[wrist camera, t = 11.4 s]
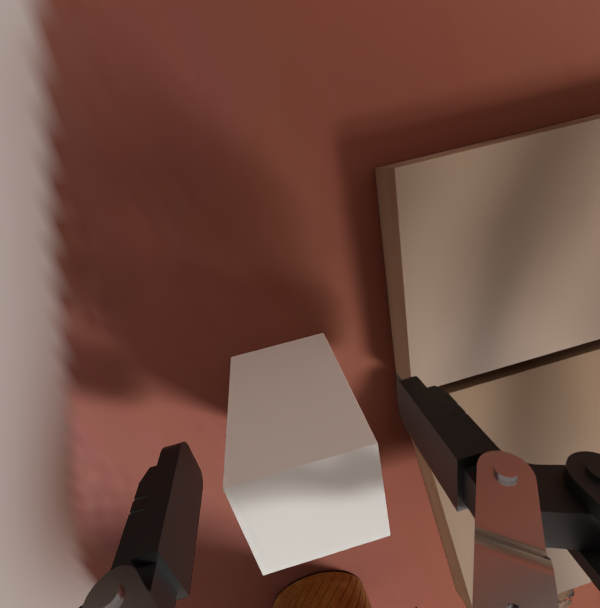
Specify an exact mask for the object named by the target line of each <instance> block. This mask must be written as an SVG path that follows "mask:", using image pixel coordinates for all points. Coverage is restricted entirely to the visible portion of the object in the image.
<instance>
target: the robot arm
mask: <svg viewBox="0 0 600 608" xmlns="http://www.w3.org/2000/svg"><path fill="white" fill-rule="evenodd" d="M396 389H397V399H398V409H399V415H400V418H401V421H402V423H403V425H404V427H405V429H406V431H407V432H408V434H409V435H410V437H411V439H412V440H413V442H414V443H415V445H416V447H417V448H418V450H419V451H420V453H421V455H422V456H423V458H424V459H425V461H426V463H427V464H428V466H429V467H430V469H431V471H432V472H433V474H434V475H435V477H436V479H437V480H438V482H439V483H440V485H441V487H442V488H443V490H444V491H445V493H446V495H447V496H448V498H449V499H450V501H451V503H452V504H453V506H454V507H455V509H456V511H457V512H459V511H462V510H465V509H469V511H470V512H471V514H472V515H473V517H474V518H475V532H474V563H473V595H472V608H559V602H558V595H557V588H556V581H555V574H554V569H553V564H552V561H551V559H550V558H549V557H547V553H546V548H557V549H567V550H568V552H569V553H570V554H571V555H572V557H573V558H574V559H575V561H576V562H577V563H578V564H579V566H580V567H581V568H582V569H583V571H584V572H585V573H586V574H587V576H588V577H589V578H590V580H591V581H592V582H593V583H594V585H595V586H596V587H597V588H598V590H599V591H600V454H599V453H595V452H589V451H580V452H575V453H573V454H571V455H570V456H569V457H568V458H567V461H566V465H539V464H529V463H526V462H525V461H524V460H522V459H521V458H519V457H517V456H515V455H513V454H511V453H508V452H504V451H501V450H500V449H499V448H498V447H497V446H496V445H495V443H494V442H493V441H492V440H491V439H490V438H489V437H488V436H487V435H486V434H485V433H484V431H483V430H482V429H481V428H480V427H479V426H478V425H477V424H476V423H475V422H474V421H473V419H472V418H471V417H470V416H469V415H468V414H466V412H465V411H464V410H463V409H462V407H461V406H460V405H458V403H457V402H456V401H455V400H454V399H453V398H452V397H451V395H450V394H449V393H447V392H446V391H444V390H442V389H440V388H438V387H437V386H435V385H434V386H431V387H428V388H427V387H426V386H425V385H424V383H423V382H422V381H421V380H420V379H419V378H418V377H417V376H413V377H410V378H406V379H403V380H399V381H397V382H396ZM202 490H203V478H202V473H201V470H200V468H199V466H198V464H197V462H196V460H195V458H194V456H193V454H192V452H191V450H190V448H189V446H188V444H187V443H186V442H182V443H178V444H175V445H171V446H168V447H164V448H163V449H162V451H161V453H160V457H159V460H158V464H157V466H154V467H150V468H149V470H148V471H147V473H146V474H145V475H144V477H143V478H142V480H141V481H140V483H139V486H138V489H137V492H136V495H135V498H134V499H135V501H134V502H133V504H132V507H131V510H130V515H129V516H128V519H127V522H126V525H125V528H124V531H123V535H122V538H121V541H120V544H119V547H118V550H117V553H116V556H115V559H114V562H113V565H112V568H111V570H110V571H109V572H107V573H106V574H105V575H104V576H103V577H102V578H101V579H100V580H99V581H98V582H97V583H96V584H95V585H94V586H93V588H92V589H91V591H90V592H89V594H88V596H87V597H86V599H85V602H84V604H83V605H82V606H80V607H79V608H175V603H176V601H177V600H180V599H183V598H186V597H189V595H190V587H191V579H192V571H193V563H194V555H195V547H196V539H197V531H198V523H199V515H200V507H201V499H202ZM416 608H417V607H416Z"/></svg>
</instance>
